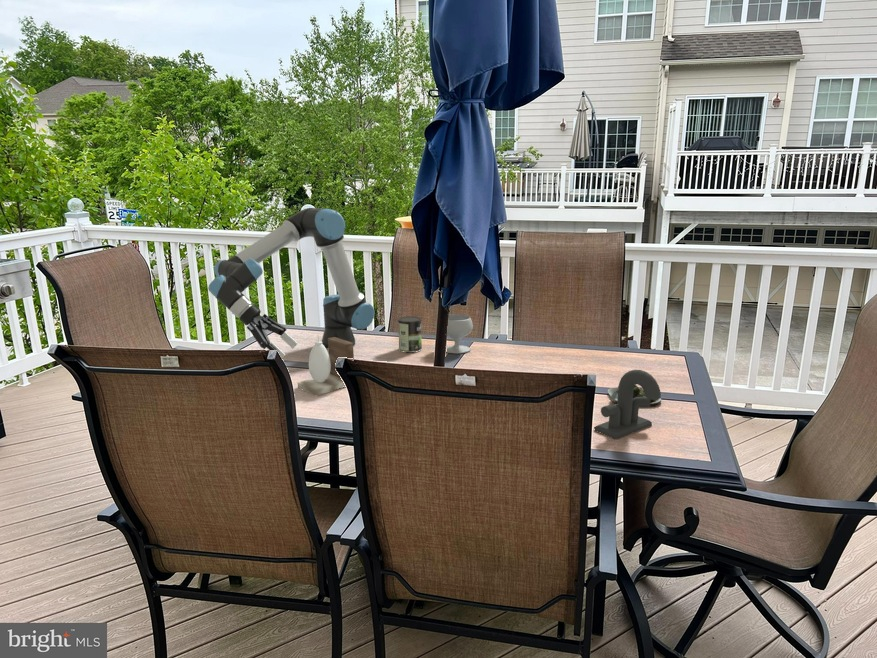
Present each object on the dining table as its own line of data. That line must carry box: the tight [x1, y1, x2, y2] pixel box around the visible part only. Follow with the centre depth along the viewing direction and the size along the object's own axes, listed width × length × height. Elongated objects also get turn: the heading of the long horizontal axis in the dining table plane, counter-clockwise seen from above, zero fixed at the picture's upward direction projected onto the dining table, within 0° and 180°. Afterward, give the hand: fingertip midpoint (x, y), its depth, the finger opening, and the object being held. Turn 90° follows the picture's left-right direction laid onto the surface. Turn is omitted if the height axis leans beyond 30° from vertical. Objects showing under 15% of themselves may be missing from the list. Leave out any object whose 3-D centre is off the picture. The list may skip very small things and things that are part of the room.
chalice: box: [446, 313, 474, 355], centre depth 269 cm, size 14×14×15 cm
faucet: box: [593, 369, 662, 440], centre depth 185 cm, size 18×16×20 cm
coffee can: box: [397, 315, 423, 353], centre depth 271 cm, size 10×10×14 cm
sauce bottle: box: [308, 334, 331, 383], centre depth 224 cm, size 8×8×18 cm
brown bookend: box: [297, 337, 355, 396], centre depth 226 cm, size 17×12×16 cm
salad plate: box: [607, 384, 662, 408], centre depth 215 cm, size 19×18×5 cm
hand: (289, 351), depth 226 cm, fingers open, 13 cm apart
